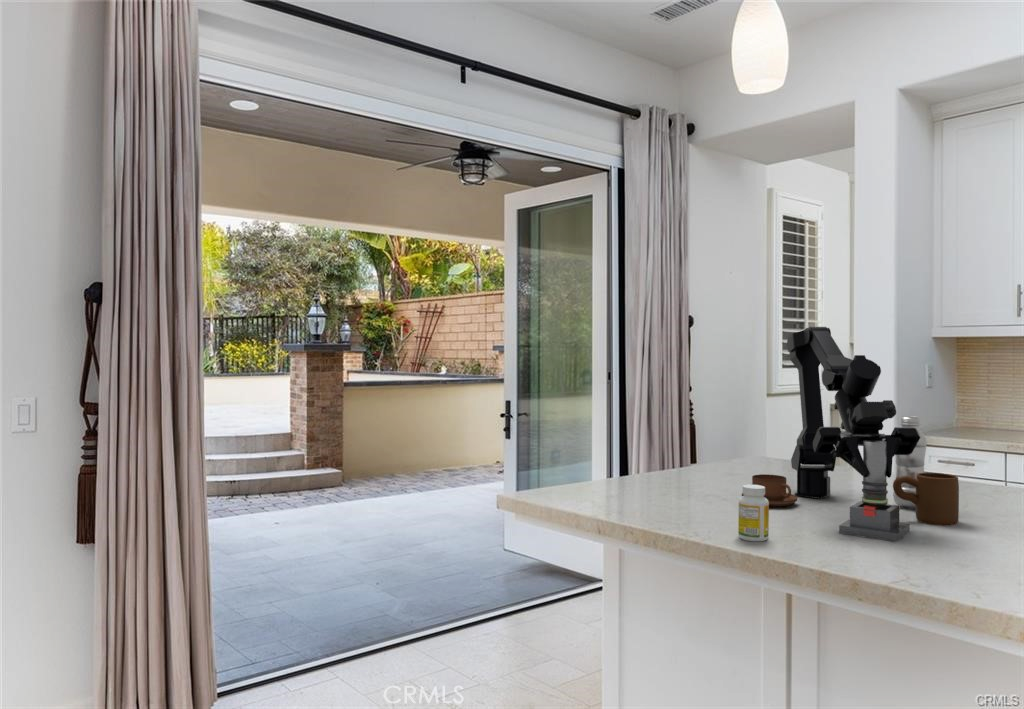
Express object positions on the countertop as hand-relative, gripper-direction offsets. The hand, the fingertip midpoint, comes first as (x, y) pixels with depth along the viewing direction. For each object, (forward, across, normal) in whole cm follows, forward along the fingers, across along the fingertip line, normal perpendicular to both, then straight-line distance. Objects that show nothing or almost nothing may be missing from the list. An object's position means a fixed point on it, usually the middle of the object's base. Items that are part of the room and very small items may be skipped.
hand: (877, 476), depth 141 cm
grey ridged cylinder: (+3, 0, +5) cm, 6 cm away
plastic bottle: (-10, +17, +26) cm, 32 cm away
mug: (0, +14, +16) cm, 21 cm away
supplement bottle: (+11, -24, +5) cm, 27 cm away
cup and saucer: (-11, -13, +27) cm, 32 cm away
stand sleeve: (+7, 0, +9) cm, 11 cm away
